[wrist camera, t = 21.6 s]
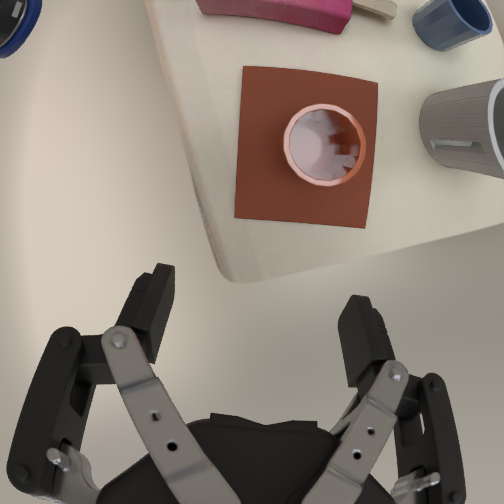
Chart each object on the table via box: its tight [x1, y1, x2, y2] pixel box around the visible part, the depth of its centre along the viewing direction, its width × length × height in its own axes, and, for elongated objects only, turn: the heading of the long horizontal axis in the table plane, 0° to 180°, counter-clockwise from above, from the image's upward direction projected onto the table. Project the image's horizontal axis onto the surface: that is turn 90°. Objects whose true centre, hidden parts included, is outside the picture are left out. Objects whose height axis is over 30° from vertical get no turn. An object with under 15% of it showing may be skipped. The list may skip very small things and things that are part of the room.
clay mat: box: [235, 66, 378, 229], centre depth 27 cm, size 14×16×1 cm
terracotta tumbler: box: [279, 103, 366, 187], centre depth 23 cm, size 6×6×8 cm
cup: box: [419, 79, 504, 179], centre depth 20 cm, size 9×9×12 cm
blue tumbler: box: [413, 0, 493, 51], centre depth 17 cm, size 6×6×8 cm
